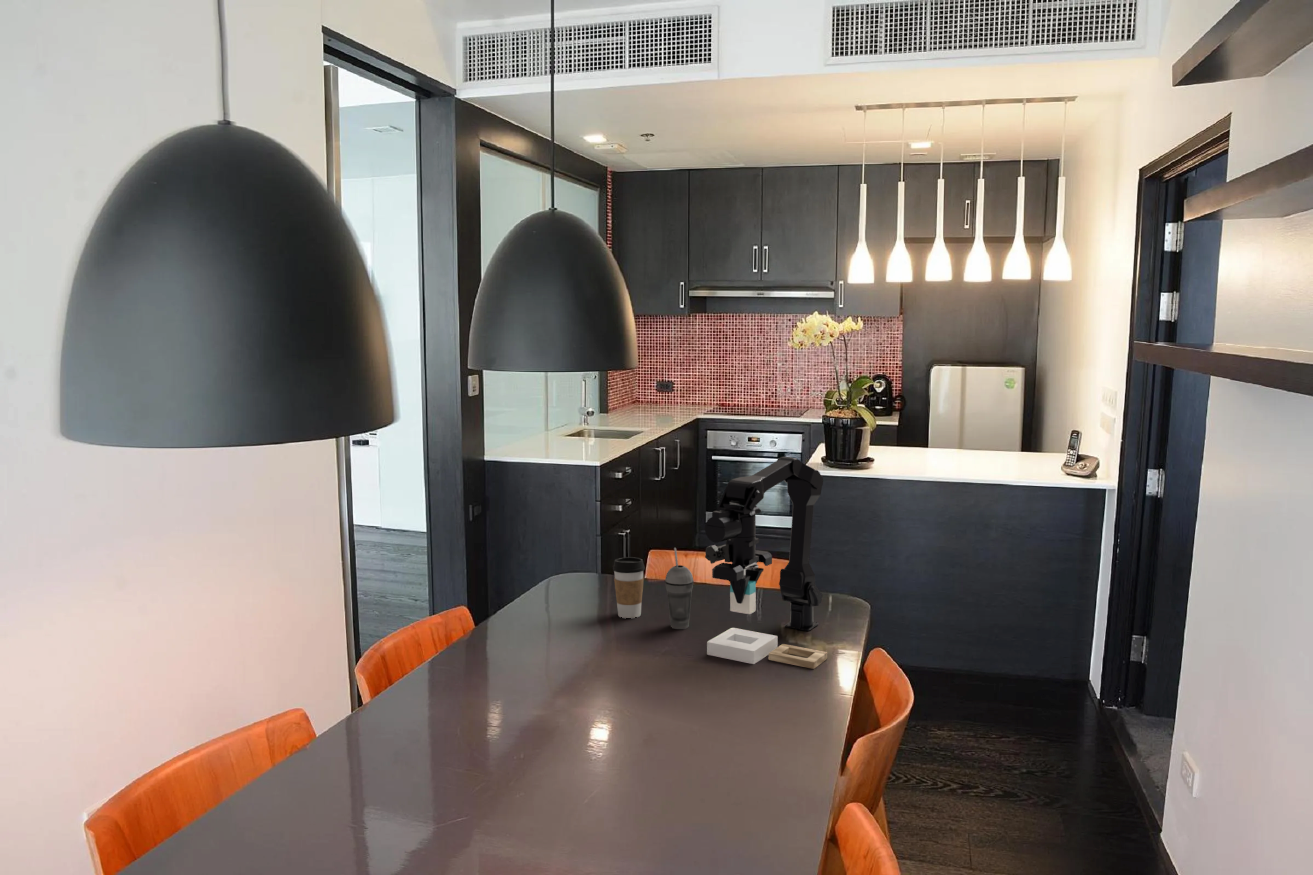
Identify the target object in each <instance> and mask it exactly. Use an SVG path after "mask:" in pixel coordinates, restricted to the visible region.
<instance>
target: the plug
mask: <svg viewBox="0 0 1313 875" xmlns="http://www.w3.org/2000/svg"><path fill="white" fill-rule="evenodd" d="M729 584H730V583H729ZM756 586H757V583H756V581H751V580H749V582H748V585H747V589H746V592H745V596H744V599H743V602H742V603H741V604H740V603H737V601H736V598H735V595H734V592H733V589H732V586H731V584H730V585H729V588H730V589H729V597H730V598H729V600H730V601H729V602H730V603H729V604H730V608H729V611H730V612H734V613H740V614H746V615H751V614H753V613H754V612H756V610H757V608H756V606H757V604H756V603H757V600H756V598H757V597H756V594H757V591H756V589H757V587H756Z"/></svg>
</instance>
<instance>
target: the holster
mask: <svg viewBox="0 0 1313 875" xmlns="http://www.w3.org/2000/svg"><path fill="white" fill-rule="evenodd" d="M827 659H828V652H827V651H822V650H816V649H811V648H805V647H803V646H802V647H801V646H796V645H792V644H785V643H782V644H781V645H779V646H777V648H776V649H774V650H773V651H771V652H770V653H769V655H768V660H769V661H773V662H777V663H782V664H788V665H794V666H798V667H803V668H808V669H812V670H813V669H814V670H815V669H816V668H818V666H820V665H821V664H823V663H824V662H825V661H826V660H827Z"/></svg>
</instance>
